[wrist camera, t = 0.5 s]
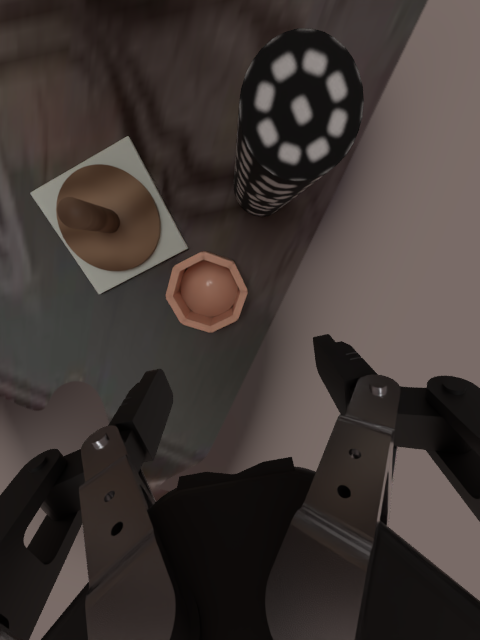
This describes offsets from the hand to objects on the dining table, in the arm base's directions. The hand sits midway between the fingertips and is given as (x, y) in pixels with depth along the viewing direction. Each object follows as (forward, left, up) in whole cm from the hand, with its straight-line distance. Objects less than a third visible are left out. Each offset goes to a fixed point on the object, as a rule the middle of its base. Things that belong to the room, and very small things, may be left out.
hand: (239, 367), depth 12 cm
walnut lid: (-16, -12, -27) cm, 34 cm away
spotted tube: (-11, +10, -28) cm, 32 cm away
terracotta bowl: (-1, -4, -28) cm, 28 cm away
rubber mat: (-16, -12, -28) cm, 34 cm away
